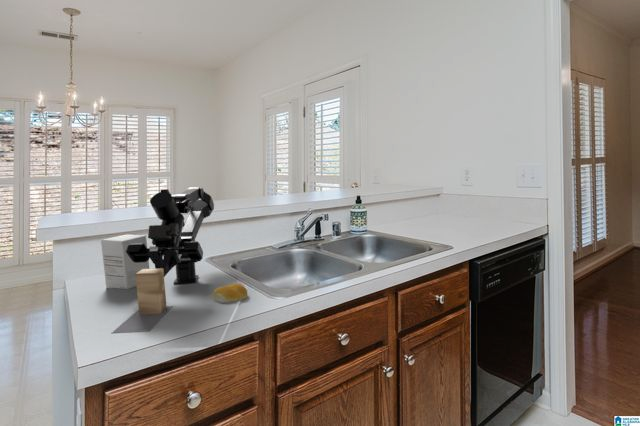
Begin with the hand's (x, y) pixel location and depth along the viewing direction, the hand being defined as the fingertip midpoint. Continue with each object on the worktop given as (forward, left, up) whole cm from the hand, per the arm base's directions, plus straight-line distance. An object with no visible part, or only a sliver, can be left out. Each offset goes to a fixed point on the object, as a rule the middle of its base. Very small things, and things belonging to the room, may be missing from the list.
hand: (158, 280), depth 94 cm
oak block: (+5, -1, -6) cm, 8 cm away
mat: (+9, -1, -7) cm, 12 cm away
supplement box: (-21, -14, -7) cm, 26 cm away
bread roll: (-1, +17, -7) cm, 19 cm away
